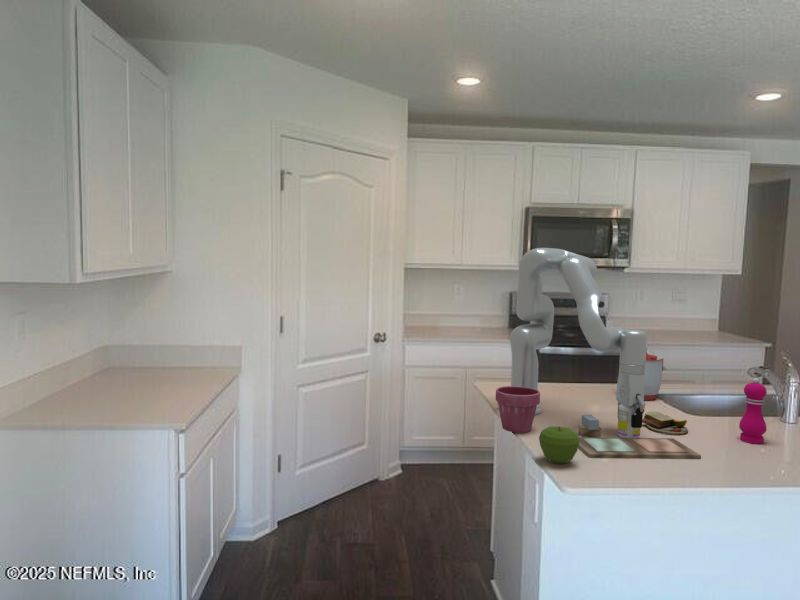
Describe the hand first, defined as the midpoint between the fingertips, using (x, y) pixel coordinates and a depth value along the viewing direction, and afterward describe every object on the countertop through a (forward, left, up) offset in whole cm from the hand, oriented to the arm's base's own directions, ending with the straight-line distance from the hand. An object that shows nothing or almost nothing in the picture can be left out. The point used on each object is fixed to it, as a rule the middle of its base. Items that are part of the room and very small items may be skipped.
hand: (629, 422), depth 177 cm
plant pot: (-34, +7, -5) cm, 35 cm away
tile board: (-4, -12, -4) cm, 13 cm away
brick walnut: (-12, +1, -5) cm, 13 cm away
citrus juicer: (+29, +52, -5) cm, 60 cm away
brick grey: (-12, +1, -2) cm, 12 cm away
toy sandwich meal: (+16, +9, -5) cm, 19 cm away
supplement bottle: (0, 0, -5) cm, 5 cm away
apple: (-30, -23, -5) cm, 38 cm away
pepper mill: (+38, -3, -5) cm, 38 cm away
